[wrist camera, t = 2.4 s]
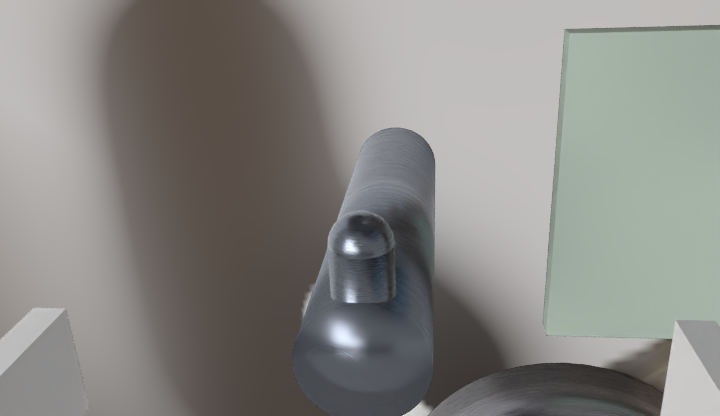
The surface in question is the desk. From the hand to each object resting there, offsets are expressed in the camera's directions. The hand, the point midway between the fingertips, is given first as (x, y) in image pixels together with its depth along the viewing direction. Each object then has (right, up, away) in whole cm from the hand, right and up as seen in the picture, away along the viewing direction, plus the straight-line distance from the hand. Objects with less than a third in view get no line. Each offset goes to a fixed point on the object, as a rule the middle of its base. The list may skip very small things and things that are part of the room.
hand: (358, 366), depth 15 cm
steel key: (+1, +5, +11) cm, 13 cm away
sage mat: (+13, +4, +10) cm, 18 cm away
